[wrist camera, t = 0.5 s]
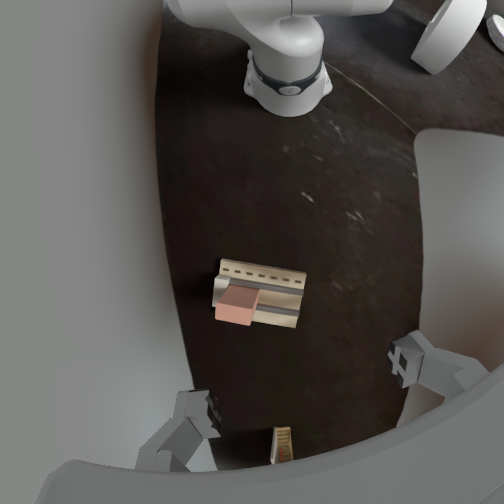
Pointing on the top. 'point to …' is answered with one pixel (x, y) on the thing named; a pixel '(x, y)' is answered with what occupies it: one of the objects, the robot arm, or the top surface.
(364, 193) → the top surface
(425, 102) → the top surface
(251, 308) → the tall salmon pink pillar
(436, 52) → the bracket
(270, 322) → the slotted tan base plate
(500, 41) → the paper bowls
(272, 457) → the staircase
